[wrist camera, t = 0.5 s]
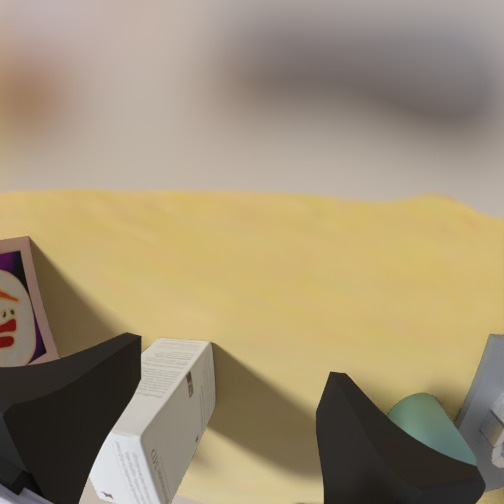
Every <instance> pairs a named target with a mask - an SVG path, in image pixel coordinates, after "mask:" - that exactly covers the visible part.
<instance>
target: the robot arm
mask: <svg viewBox="0 0 504 504" xmlns="http://www.w3.org/2000/svg"><path fill="white" fill-rule="evenodd" d="M140 380H141V336H139V335H135V334H131V333H124V334H121V335H119V336H117V337H114V338H112V339H110V340H107V341H105V342H103V343H101V344H98V345H96V346H94V347H91V348H89V349H86V350H84V351H81V352H78V353H75V354H73V355H70V356H67V357H64V358H60V359H57V360H53V361H49V362H44V363H39V364H32V365H25V366H16V367H0V504H79V501H80V498H81V495H82V492H83V489H84V487H85V484H86V482H87V478H88V476H89V474H90V472H91V469H92V467H93V465H94V462H95V460H96V458H97V456H98V454H99V451H100V449H101V447H102V445H103V443H104V441H105V440H106V438H107V436H108V435H109V433H110V432H111V430H112V429H113V427H114V425H115V424H116V422H117V421H118V419H119V418H120V416H121V415H122V413H123V412H124V410H125V409H126V407H127V406H128V404H129V403H130V401H131V399H132V398H133V396H134V394H135V392H136V389H137V387H138V385H139V383H140ZM316 435H317V442H318V449H319V455H320V462H321V468H322V475H323V484H324V504H475V503H476V502H477V501H478V500H479V499H480V498H481V496H482V495H483V493H484V491H485V489H486V483H485V481H484V479H483V477H482V475H481V473H480V472H479V470H478V468H477V466H475V465H472V464H469V463H466V462H463V461H460V460H457V459H454V458H451V457H449V456H447V455H445V454H442V453H440V452H438V451H436V450H434V449H432V448H430V447H428V446H427V445H425V444H423V443H422V442H420V441H418V440H417V439H415V438H414V437H412V436H411V435H409V434H408V433H406V432H405V431H404V430H403V429H401V428H400V427H399V426H397V425H396V424H395V423H394V422H392V421H391V420H390V419H389V418H388V417H387V416H386V415H385V414H384V413H383V412H381V411H380V410H379V409H378V408H377V407H376V406H375V405H374V404H373V403H372V401H371V400H370V399H369V398H368V397H367V396H366V395H365V394H364V393H363V392H362V391H361V389H360V388H359V387H358V386H357V385H356V384H355V383H354V382H353V380H352V379H351V378H350V377H349V376H348V375H347V374H346V373H338V372H330V374H329V377H328V380H327V383H326V386H325V389H324V391H323V394H322V397H321V400H320V403H319V405H318V408H317V411H316Z"/></svg>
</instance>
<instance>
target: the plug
mask: <svg viewBox="0 0 504 504" xmlns="http://www.w3.org/2000/svg"><path fill="white" fill-rule="evenodd" d="M387 417H388V418H389V419H390V420H391V421H392V422H394V423H395V424H396V425H397V426H399V427H400V428H401V429H403V430H404V431H405V432H406V433H408V434H409V435H411V436H412V437H414V438H415V439H417V440H418V441H420V442H422V443H423V444H425V445H427V446H428V447H430V448H432V449H434V450H436V451H438V452H440V453H442V454H445V455H447V456H449V457H451V458H454V459H457V460H460V461H463V462H466V463H469V464H472V465H475V466H476V457H475V455H474V454H473V452H472V451H471V449H470V448H469V446H468V445H467V443H466V442H465V440H464V439H463V437H462V436H461V434H460V433H459V431H458V430H457V428H456V427H455V426H454V424H453V423H452V421H451V420H450V418H449V417H448V415H447V414H446V413H445V411H444V410H443V408H442V407H441V405H440V404H439V403H438V401H437V400H436V398H435V397H434V396H432V395H430V394H427V393H418V394H413V395H411V396H408V397H406V398H404V399H403V400H401V401H400V402H398V403H397V404H396V405H395V406H394V407H393V408H392V409H391V411H390V412H389V414H388V416H387Z"/></svg>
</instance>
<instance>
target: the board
mask: <svg viewBox="0 0 504 504" xmlns="http://www.w3.org/2000/svg"><path fill="white" fill-rule="evenodd" d="M503 392H504V335H495V334H490V335H489V338H488V341H487V344H486V347H485V350H484V353H483V356H482V359H481V362H480V365H479V367H478V370H477V373H476V375H475V378H474V380H473V383H472V385H471V388H470V390H469V393H468V395H467V397H466V400H465V402H464V404H463V406H462V409H461V411H460V413H459V415H458V417H457V419H456V421H455V424H454V426H455V427H456V428H457V430H458V431H459V433H460V434H461V436H462V437H463V439H464V440H465V442H466V443H467V445H468V446H469V448H470V449H471V451H472V452H473V454H474V455H475V457H476V466H477V468H478V470H479V472H480V473H481V475H482V477H483V479H484V481H485V483H486V489H485V491H484V492H487V491H490V490H494V489H497V488H500V487H503V486H504V467H503V468H499V467H497V466H495V465H494V464H492V462H491V461H490V460H489V458H488V457H487V455H486V454H485V452H484V451H483V449H482V448H481V447H480V445H479V430H480V426H481V424H482V422H483V420H484V418H485V416H486V414H487V412H488V410H491V409H490V407H491V406H492V405H493V404H494V402H495V401H496V400H497V399H498V398H499V397H500V395H501V394H502V393H503Z"/></svg>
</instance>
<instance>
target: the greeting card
mask: <svg viewBox="0 0 504 504" xmlns="http://www.w3.org/2000/svg"><path fill="white" fill-rule="evenodd" d="M59 358H60V357H59V355H58V352H57V349H56V346H55V343H54V340H53V336H52V333H51V330H50V327H49V323H48V320H47V316H46V313H45V309H44V306H43V302H42V298H41V294H40V290H39V286H38V281H37V277H36V272H35V268H34V263H33V258H32V253H31V247H30V242H29V236H25V237H18V238H11V239H4V240H0V367H16V366H25V365H32V364H39V363H44V362H49V361H53V360H57V359H59Z"/></svg>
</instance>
